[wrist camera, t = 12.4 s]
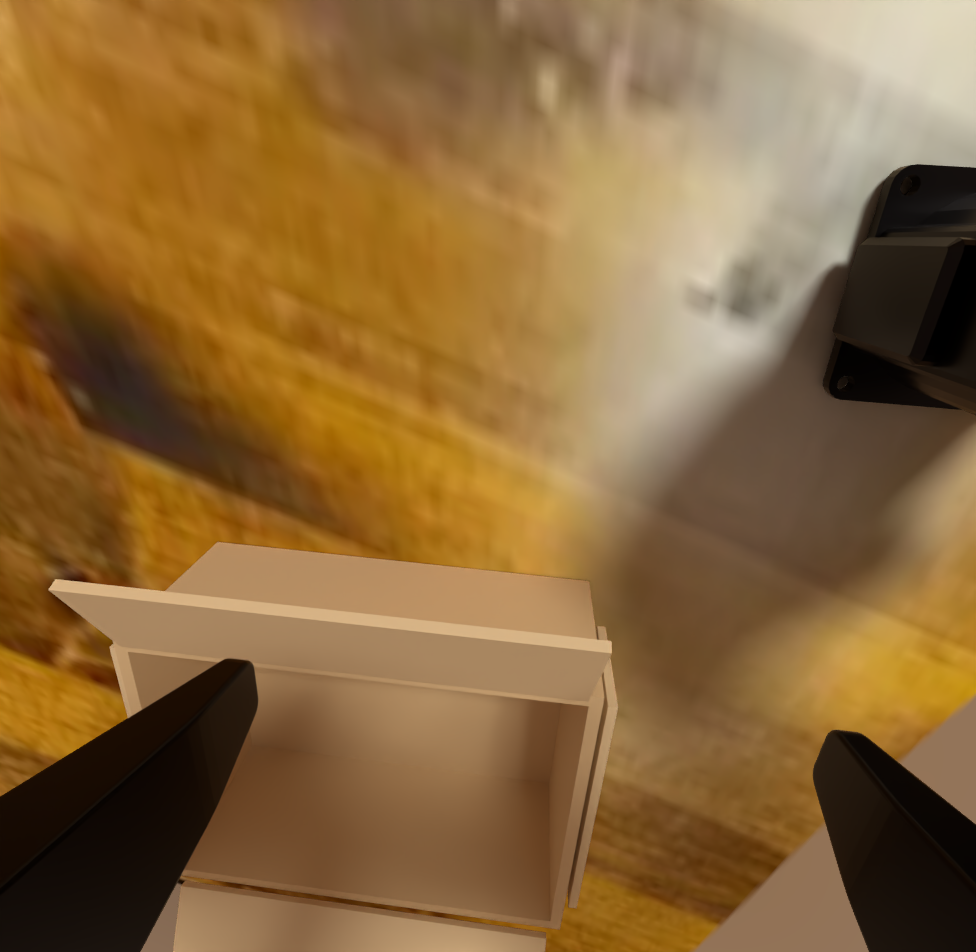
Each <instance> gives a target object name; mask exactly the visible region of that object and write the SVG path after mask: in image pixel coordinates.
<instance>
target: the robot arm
mask: <svg viewBox="0 0 976 952" xmlns="http://www.w3.org/2000/svg"><path fill="white" fill-rule="evenodd" d="M906 177H909V178H910V179H911V181H912V187H911V189H910V191H909V192H908V193H907V194H906V195H903V194H902V193H901V191H900V185H901V183H902V181H903V180H904V179H905V178H906ZM833 332H834V334H835V336H836V340H835V344H834V347H833V350H832V353H831V357H830V360H829V363H828V366H827V370H826V373H825V376H824V379H823V387H824V390H825V391H826V392H827V393H828V394H829V395H831V396H832V397H834V398H837V399H841V400H852V401H864V402H876V403H888V404H900V405H912V406H924V407H936V408H948V409H960V410H964V411H967V412H969V413H972V414H974V415H976V168H971V167H954V166H936V165H919V164H916V165H910V166H905V167H900V168H898V169H897V170H895V171H893V172H892V173H891V174H890V175H889V176H888V177H887V179H886V181H885V183H884V185H883V188H882V191H881V194H880V197H879V201H878V204H877V207H876V210H875V214H874V217H873V220H872V223H871V227H870V230H869V233H868V236H867V239H866V240H865V241H864V242H863V243H861V244H860V245H859V246H858V248H857V251H856V255H855V258H854V261H853V265H852V268H851V271H850V275H849V278H848V281H847V284H846V288H845V291H844V294H843V298H842V301H841V304H840V308H839V311H838V314H837V317H836V321H835V324H834V327H833ZM844 376H848V383H847V384H846V386H844V387H843V388H840V389H838V388H837V383H838V381H839V380H840V379H841V378H842V377H844ZM257 708H258V691H257V684H256V676H255V669H254V665H253V663H252V662H251V661H248V660H241V659H233V658H227V659H224V660H222V661H220V662H219V663H217V664H215V665H214V666H212V667H210V668H209V669H207V670H206V671H204V672H202V673H201V674H199V675H197V676H196V677H194V678H192V679H191V680H189V681H188V682H186V683H184V684H183V685H181V686H179V687H178V688H176V689H175V690H173V691H171V692H170V693H168V694H166V695H165V696H163V697H162V698H160V699H158V700H157V701H155V702H153V703H152V704H150V705H149V706H147V707H145V708H144V709H142V710H140V711H139V712H137V713H136V714H134V715H132V716H131V717H129V718H127V719H126V720H124V721H123V722H121V723H119V724H118V725H116V726H114V727H113V728H111V729H110V730H108V731H106V732H105V733H103V734H101V735H100V736H98V737H96V738H95V739H93V740H92V741H90V742H88V743H87V744H85V745H83V746H82V747H80V748H79V749H77V750H75V751H74V752H72V753H70V754H69V755H67V756H66V757H64V758H62V759H61V760H59V761H57V762H56V763H54V764H53V765H51V766H49V767H48V768H46V769H44V770H43V771H41V772H40V773H38V774H36V775H35V776H33V777H31V778H30V779H28V780H27V781H25V782H23V783H22V784H20V785H18V786H17V787H15V788H13V789H12V790H10V791H9V792H7V793H5V794H4V795H2V796H0V952H140V951H141V950H142V948H143V946H144V944H145V942H146V940H147V938H148V936H149V935H150V933H151V931H152V929H153V927H154V925H155V923H156V921H157V920H158V918H159V916H160V914H161V912H162V910H163V908H164V907H165V905H166V903H167V901H168V899H169V897H170V895H171V893H172V891H173V890H174V888H175V886H176V884H177V882H178V880H179V878H180V877H181V875H182V873H183V871H184V869H185V867H186V865H187V863H188V862H189V860H190V858H191V856H192V854H193V852H194V850H195V848H196V847H197V845H198V843H199V841H200V839H201V837H202V835H203V833H204V832H205V830H206V828H207V826H208V824H209V822H210V820H211V818H212V816H213V814H214V812H215V810H216V808H217V806H218V803H219V801H220V799H221V797H222V794H223V792H224V790H225V787H226V785H227V782H228V780H229V778H230V775H231V773H232V770H233V768H234V766H235V763H236V761H237V758H238V756H239V754H240V751H241V749H242V746H243V744H244V741H245V739H246V737H247V734H248V732H249V729H250V727H251V725H252V722H253V720H254V717H255V715H256V712H257ZM813 780H814V785H815V789H816V792H817V796H818V799H819V803H820V806H821V809H822V813H823V816H824V820H825V823H826V826H827V830H828V833H829V836H830V840H831V843H832V846H833V850H834V854H835V857H836V860H837V864H838V867H839V871H840V874H841V877H842V881H843V883H844V887H845V890H846V893H847V896H848V899H849V901H850V904H851V907H852V909H853V912H854V915H855V917H856V920H857V922H858V925H859V927H860V930H861V932H862V935H863V937H864V940H865V943H866V945H867V948H868V950H869V952H976V824H974V823H973V822H972V821H971V820H969V819H968V818H967V817H966V816H964V815H963V814H962V813H961V812H960V811H958V810H957V809H956V808H954V807H953V806H952V805H951V804H950V803H948V802H947V801H946V800H945V799H943V798H942V797H941V796H940V795H938V794H937V793H936V792H935V791H933V790H932V789H931V788H930V787H928V786H927V785H926V784H925V783H923V782H922V781H921V780H919V779H918V778H917V777H916V776H915V775H913V774H912V773H911V772H910V771H908V770H907V769H906V768H905V767H903V766H902V765H901V764H900V763H898V762H897V761H896V760H895V759H893V758H892V757H891V756H890V755H888V754H887V753H886V752H885V751H884V750H882V749H881V748H880V747H879V746H877V745H876V744H875V743H874V742H872V741H871V740H870V739H869V738H867V737H866V736H864V735H863V734H861V733H858V732H851V731H843V730H832V731H830V732H829V733H828V734H827V736H826V739H825V741H824V743H823V746H822V748H821V750H820V753H819V755H818V758H817V760H816V762H815V765H814V769H813Z"/></svg>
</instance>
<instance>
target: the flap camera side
mask: <svg viewBox="0 0 976 952" xmlns="http://www.w3.org/2000/svg"><path fill="white" fill-rule="evenodd" d="M177 914H178V915H177V922H176V930H175V938H174V946H173V952H545V946H546V932H539V931H532V930H525V929H518V928H511V927H504V926H497V925H490V924H483V923H476V922H469V921H462V920H455V919H448V918H441V917H434V916H427V915H420V914H413V913H406V912H399V911H392V910H385V909H378V908H371V907H365V906H358V905H351V904H344V903H337V902H330V901H323V900H316V899H309V898H302V897H295V896H288V895H281V894H274V893H267V892H260V891H253V890H246V889H239V888H232V887H225V886H218V885H211V884H204V883H197V882H190V881H185V882H184V883H183V884H182V885H181V889H180V897H179V905H178V913H177Z"/></svg>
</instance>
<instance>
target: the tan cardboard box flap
mask: <svg viewBox="0 0 976 952" xmlns="http://www.w3.org/2000/svg"><path fill="white" fill-rule="evenodd" d="M49 591H50V592H52V593H53V594H54V595H56V596H57V597H58V598H59V599H61V600H62V601H63V602H64V603H66V604H67V605H68V606H69V607H71V608H72V609H73V610H75V611H76V612H77V613H78V614H80V615H81V616H82V617H83V618H85V619H86V620H87V621H89V622H90V623H91V624H92V625H94V626H95V627H96V628H97V629H99V630H100V631H101V632H102V633H104V634H105V635H106V636H108V637H109V638H110V639H111V640H113V641H114V642H115V643H116V644H118V645H119V646H120V647H129V648H137V649H146V650H154V651H163V652H171V653H179V654H188V655H196V656H205V657H213V658H222V659H227V658H233V659H241V660H248V661H251V662H256V663H264V664H273V665H281V666H290V667H298V668H306V669H315V670H323V671H332V672H340V673H349V674H357V675H366V676H374V677H383V678H391V679H400V680H408V681H416V682H425V683H433V684H442V685H450V686H459V687H467V688H476V689H484V690H493V691H501V692H510V693H518V694H526V695H535V696H543V697H552V698H560V699H569V700H577V701H586V702H589V700H590V698H591V695H592V693H593V691H594V689H595V687H596V685H597V683H598V681H599V679H600V677H601V675H602V673H603V671H604V669H605V666H606V664H607V662H608V660H609V658H610V656H611V654H612V642H611V641H605V640H597V639H588V638H579V637H570V636H561V635H552V634H543V633H534V632H525V631H516V630H507V629H498V628H489V627H480V626H471V625H462V624H453V623H444V622H435V621H426V620H417V619H408V618H399V617H390V616H381V615H372V614H363V613H354V612H345V611H336V610H327V609H318V608H309V607H300V606H291V605H282V604H273V603H264V602H255V601H246V600H237V599H228V598H219V597H210V596H201V595H192V594H183V593H174V592H165V591H156V590H147V589H138V588H129V587H121V586H112V585H103V584H94V583H85V582H76V581H67V580H58V579H55V581H54V582H53V584H52V585H51V587H50V588H49Z"/></svg>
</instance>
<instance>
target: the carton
mask: <svg viewBox="0 0 976 952" xmlns="http://www.w3.org/2000/svg"><path fill="white" fill-rule="evenodd" d="M165 592H174V593H183V594H192V595H201V596H210V597H219V598H228V599H237V600H246V601H255V602H264V603H273V604H282V605H291V606H300V607H309V608H318V609H327V610H336V611H345V612H354V613H363V614H372V615H381V616H390V617H399V618H408V619H417V620H426V621H435V622H444V623H453V624H462V625H471V626H480V627H489V628H498V629H507V630H516V631H525V632H534V633H543V634H552V635H561V636H570V637H579V638H588V639H597V640H605V641H608V640H607V633H606V627H603V626H597V630H596V629H595V621H594V614H593V606H592V598H591V591H590V583H589V581H583V580H574V579H564V578H555V577H545V576H536V575H526V574H517V573H507V572H498V571H488V570H479V569H469V568H460V567H450V566H441V565H431V564H422V563H412V562H403V561H393V560H384V559H374V558H364V557H355V556H345V555H336V554H326V553H317V552H307V551H298V550H288V549H279V548H269V547H260V546H250V545H241V544H231V543H222V542H217V543H216V544H215V545H214V546H213V547H212V548H211V549H210V550H209V551H207V552H206V553H205V554H204V555H203V556H202V557H201V558H200V559H199V560H198V561H197V562H196V563H195V564H193V565H192V566H191V567H190V568H189V569H188V570H187V571H186V572H185V573H184V574H183V575H182V576H181V577H180V578H178V579H177V580H176V581H175V582H174V583H173V584H172V585H171V586H170V587H169V588H168V589H167V590H166V591H165ZM110 651H111V655H112V659H113V662H114V666H115V670H116V674H117V678H118V682H119V685H120V689H121V693H122V697H123V701H124V704H125V708H126V712H127V716H128V718H129V717H131V716H132V715H134V714H136V713H137V712H139V711H140V710H142V709H144V708H145V707H147V706H149V705H150V704H152V703H153V702H155V701H157V700H158V699H160V698H162V697H163V696H165V695H166V694H168V693H170V692H171V691H173V690H175V689H176V688H178V687H179V686H181V685H183V684H184V683H186V682H188V681H189V680H191V679H192V678H194V677H196V676H197V675H199V674H201V673H202V672H204V671H206V670H207V669H209V668H210V667H212V666H214V665H215V664H217V663H219V662H220V661H222V660H224V659H222V658H213V657H205V656H196V655H188V654H179V653H171V652H163V651H154V650H146V649H137V648H129V647H120V646H119V645H118V644H116V643H115V642H114V641H113V644H112V645H111V646H110ZM252 663H253V665H254V669H255V676H256V684H257V691H258V708H257V712H256V715H255V717H254V720H253V722H252V725H251V727H250V729H249V732H248V734H247V737H246V739H245V741H244V744H243V746H242V749H241V751H240V754H239V756H238V758H237V761H236V763H235V766H234V768H233V770H232V773H231V775H230V778H229V780H228V782H227V785H226V787H225V790H224V792H223V794H222V797H221V799H220V801H219V803H218V806H217V808H216V810H215V812H214V814H213V816H212V818H211V820H210V822H209V824H208V826H207V828H206V830H205V832H204V833H203V835H202V837H201V839H200V841H199V843H198V845H197V847H196V848H195V850H194V852H193V854H192V856H191V858H190V860H189V862H188V863H187V865H186V867H185V869H184V871H183V873H182V876H189V877H196V878H203V879H210V880H217V881H224V882H231V883H238V884H245V885H252V886H259V887H266V888H273V889H280V890H287V891H294V892H301V893H308V894H315V895H322V896H329V897H336V898H343V899H350V900H357V901H364V902H371V903H378V904H385V905H392V906H399V907H406V908H413V909H420V910H427V911H434V912H441V913H448V914H455V915H462V916H469V917H476V918H483V919H490V920H497V921H504V922H511V923H518V924H525V925H532V926H539V927H546V928H553V929H560V926H561V921H562V915H563V910H564V905H565V900H566V895H567V889H568V907H570V908H577V903H578V898H579V893H580V889H581V884H582V879H583V874H584V869H585V865H586V860H587V855H588V850H589V845H590V841H591V836H592V831H593V826H594V821H595V816H596V812H597V807H598V802H599V797H600V792H601V788H602V783H603V778H604V773H605V768H606V764H607V759H608V754H609V749H610V744H611V740H612V735H613V730H614V725H615V720H616V715H617V711H618V703H617V697H616V690H615V684H614V678H613V671H612V665H611V659H610V658H609V660H608V662H607V664H606V666H605V669H604V671H603V673H602V675H601V677H600V679H599V681H598V683H597V685H596V687H595V689H594V691H593V693H592V695H591V698H590V700H589V702H586V701H577V700H569V699H560V698H552V697H543V696H535V695H526V694H518V693H510V692H501V691H493V690H484V689H476V688H467V687H459V686H450V685H442V684H433V683H425V682H416V681H408V680H400V679H391V678H383V677H374V676H366V675H357V674H349V673H340V672H332V671H323V670H315V669H306V668H298V667H290V666H281V665H273V664H264V663H256V662H252Z"/></svg>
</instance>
